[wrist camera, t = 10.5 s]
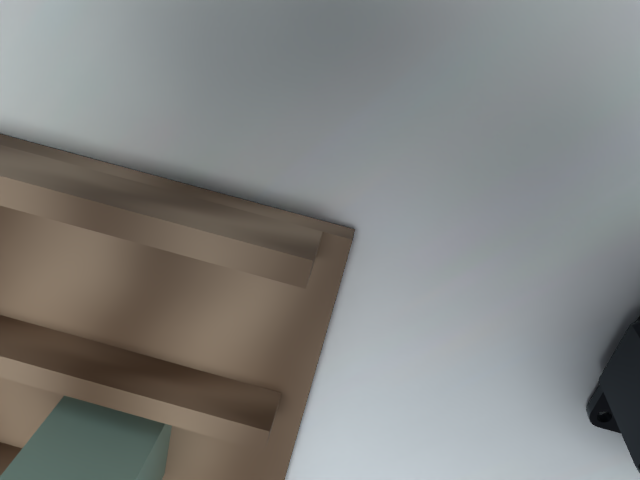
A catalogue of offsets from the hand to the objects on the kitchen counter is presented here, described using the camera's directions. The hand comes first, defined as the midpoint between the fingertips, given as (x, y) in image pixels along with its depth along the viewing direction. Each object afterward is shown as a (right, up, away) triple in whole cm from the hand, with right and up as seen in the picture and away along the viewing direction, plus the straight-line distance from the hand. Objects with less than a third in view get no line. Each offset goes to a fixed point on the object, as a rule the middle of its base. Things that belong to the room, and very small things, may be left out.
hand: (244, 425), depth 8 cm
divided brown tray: (-6, -2, +15) cm, 17 cm away
